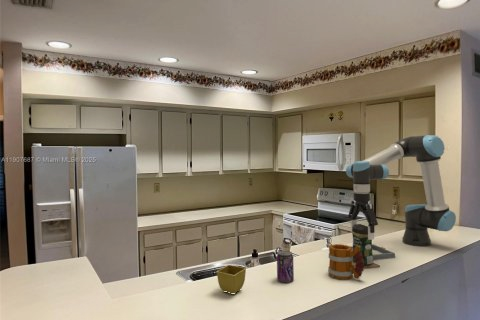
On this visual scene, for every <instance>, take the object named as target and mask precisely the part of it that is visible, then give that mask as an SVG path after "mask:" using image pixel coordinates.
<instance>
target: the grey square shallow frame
mask: <svg viewBox="0 0 480 320" xmlns="http://www.w3.org/2000/svg"><path fill="white" fill-rule="evenodd" d="M350 247H351V248H352V250H353V245H352V246H350ZM372 250H374V251H375V252H378V253H377V254H373V261H379V260H387V259H395V258H396V253H395V252H394V251H391V250H389V249H386V247H384V246H379V245H376V244H373V243H372Z"/></svg>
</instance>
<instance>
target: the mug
mask: <svg viewBox="0 0 480 320" xmlns="http://www.w3.org/2000/svg"><path fill="white" fill-rule="evenodd" d="M360 248H361V247H360V246H359V245H358V246H356V247H355V248H354V249H353V250H352V248H351V246H350V245H348V244H347V245H346V244H341V243H337V244H336V243H335V244H331V245H329V247H328V252H329V253H328V259H329V264H328V265H329V266H328V267H327V268H328V269H327V271H328V276H330V277H331V278H333V279H335V280H336V279H337V280H350V279H352V278H355V279H357V280H358V279H360V278H361V277H362V274H363V272H364V270H365V269H364V260H363V256H362V253H361V252H359V251H360ZM353 256H354V258H355V260H356V262H357V263H356V267H354V266H353V265H352V259H353Z"/></svg>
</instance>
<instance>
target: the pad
mask: <svg viewBox="0 0 480 320" xmlns="http://www.w3.org/2000/svg"><path fill="white" fill-rule="evenodd" d="M352 265H353V266H354V267H356V262H354V261H353V260H352ZM380 267H381V265H380V264H378V263H376V262H374V261H373V263H372V264H371V265H364V270H365V269H373V268H374V269H376V268H380Z"/></svg>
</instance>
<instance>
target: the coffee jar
mask: <svg viewBox="0 0 480 320" xmlns="http://www.w3.org/2000/svg"><path fill="white" fill-rule="evenodd" d="M351 234H352V235H351V236H352V246H353V249H354V248H355V247H356V246H358V245H359V246H360V247H361V248H360V251H359V252H361V253H362V256H363V260H364V265H371V264H372V263H373V262H374V260H373V255H374V254H373V249H372V244H373V240H368V225H365V224H362V223H357V224H354V225H353V227H352V233H351ZM352 260H353V261H354V262H356V260H355V258H354V256H353V259H352ZM356 263H357V262H356Z"/></svg>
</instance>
